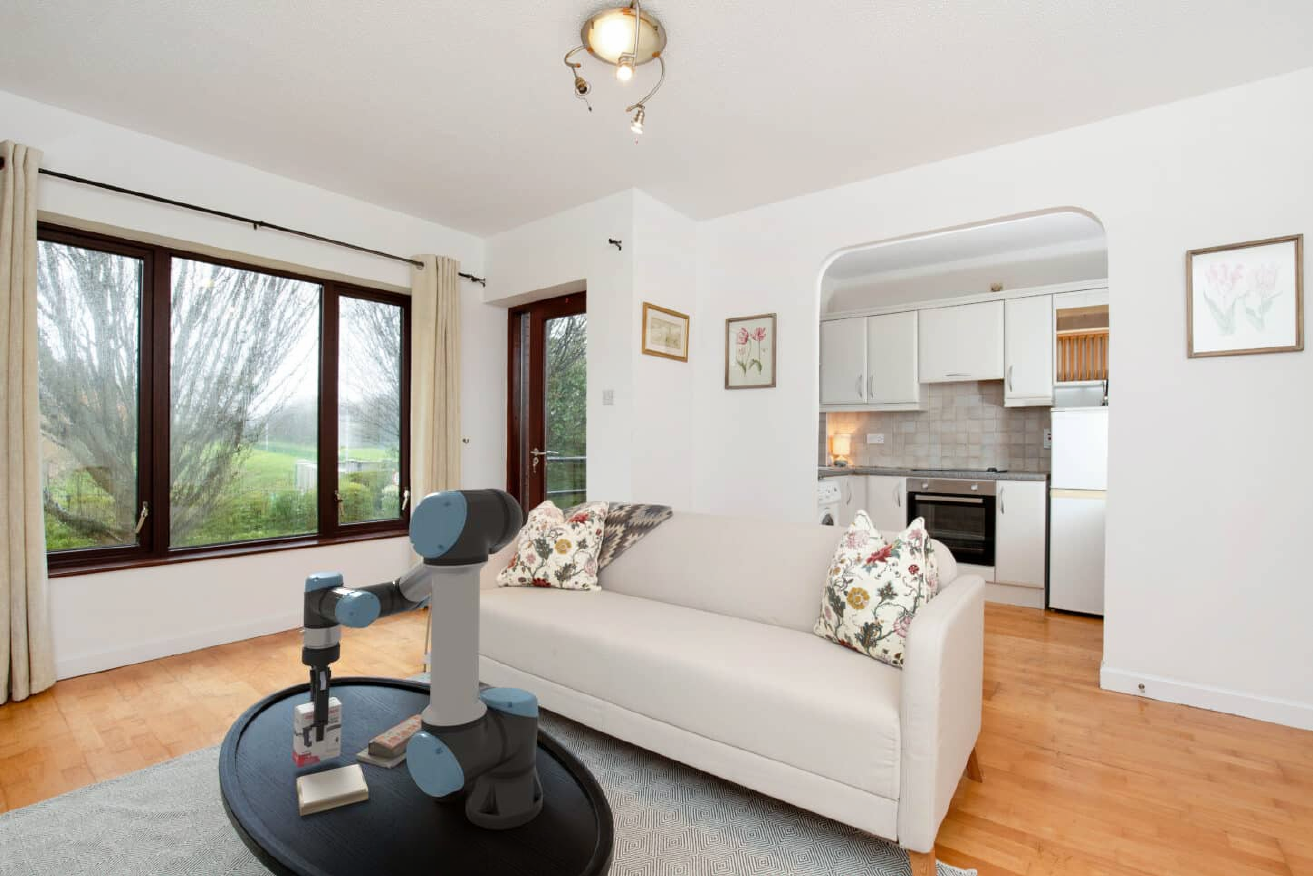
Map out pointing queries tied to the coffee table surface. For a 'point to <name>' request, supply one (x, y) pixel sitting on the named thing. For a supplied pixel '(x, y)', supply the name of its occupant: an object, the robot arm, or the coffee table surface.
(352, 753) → the coffee table surface
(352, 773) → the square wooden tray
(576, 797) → the coffee table surface
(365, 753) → the packaged product
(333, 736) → the ink box
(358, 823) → the coffee table surface
